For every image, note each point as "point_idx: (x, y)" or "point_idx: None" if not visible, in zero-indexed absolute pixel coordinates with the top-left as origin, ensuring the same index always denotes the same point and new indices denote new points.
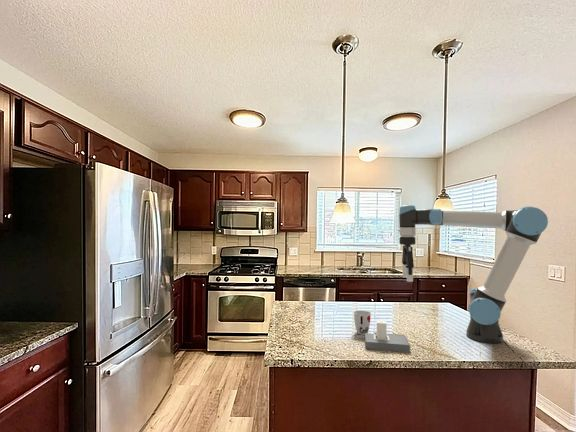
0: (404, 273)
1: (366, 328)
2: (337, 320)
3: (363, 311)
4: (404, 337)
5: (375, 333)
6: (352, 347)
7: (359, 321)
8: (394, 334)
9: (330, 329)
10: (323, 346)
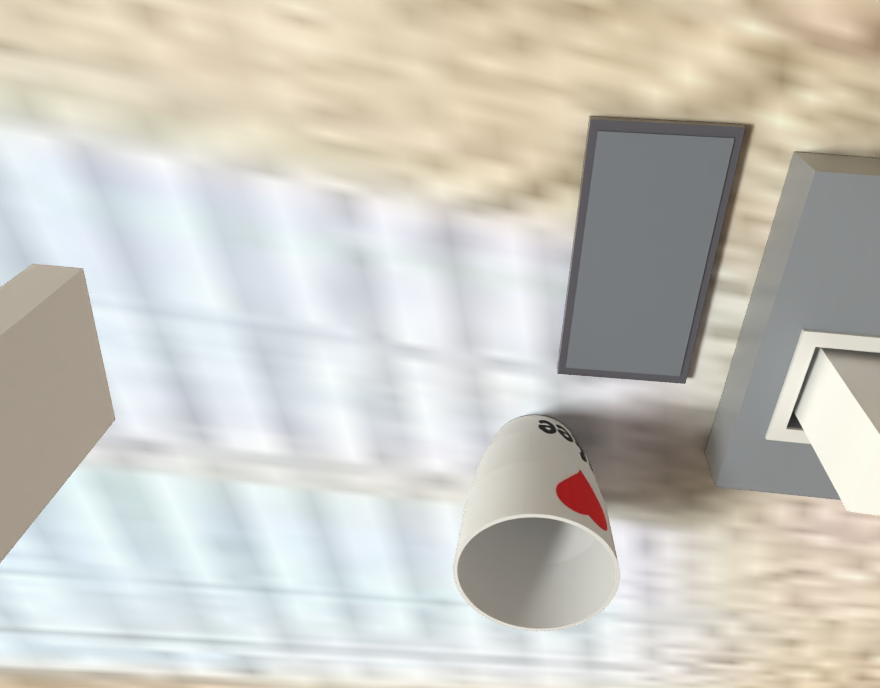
0: (30, 462)
1: (588, 461)
2: (235, 565)
3: (461, 552)
4: (865, 193)
5: (574, 370)
6: (870, 542)
7: (598, 551)
8: (596, 219)
9: (477, 619)
10: (831, 672)
